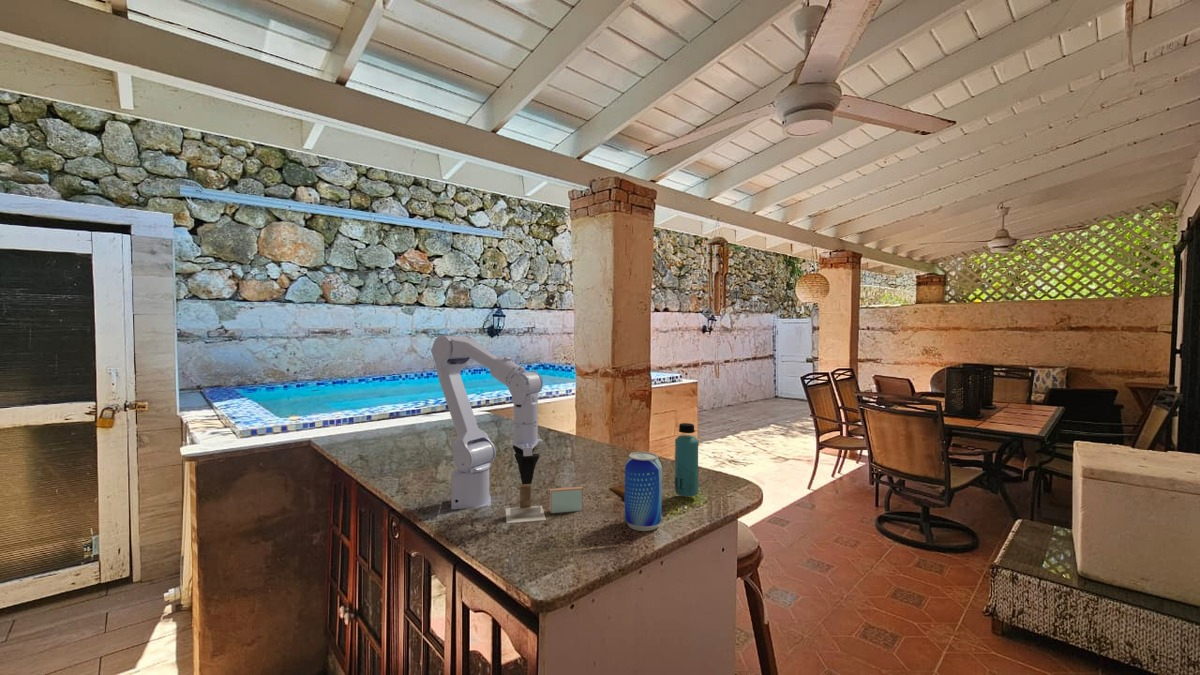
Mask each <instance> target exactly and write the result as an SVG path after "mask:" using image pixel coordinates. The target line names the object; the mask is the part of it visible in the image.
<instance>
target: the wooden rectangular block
mask: <svg viewBox="0 0 1200 675" xmlns="http://www.w3.org/2000/svg"><path fill="white" fill-rule="evenodd" d="M531 485H532V484H522V482H521V483H519V507H520V508H518V507H511V508H512V509H510V517H511V518H522V517H533V516H541V507H540V506H541V505H537V506H538V507H531V500H532V498H531V497H532V495H531V494H532V493H531V492H532V491H531V490H532V489H531V488H532V486H531Z"/></svg>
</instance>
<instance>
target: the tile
mask: <svg viewBox="0 0 1200 675" xmlns="http://www.w3.org/2000/svg"><path fill="white" fill-rule="evenodd" d="M583 510H584V487H583V486H574V487H573V486H572V487H559V488H549V513H550V514H556V513H559V514H560V513H569V512H570V513H571V512H581V511H583Z"/></svg>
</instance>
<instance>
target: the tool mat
mask: <svg viewBox="0 0 1200 675" xmlns="http://www.w3.org/2000/svg"><path fill="white" fill-rule="evenodd" d="M538 506H540V507H541V516H533V517H522V518H511V517H510V509H512V508H513V507H507V508H505V521H506V524H513V523H524V522H536V521H537V522H538V521H546V520H547V518H546V514H545V511H544V509H543V506H542V505H533V506H531V507H538ZM517 508H520V506H519V507H517Z"/></svg>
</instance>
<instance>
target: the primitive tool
mask: <svg viewBox="0 0 1200 675" xmlns="http://www.w3.org/2000/svg"><path fill="white" fill-rule="evenodd" d="M608 490H610V491H611V492H613V491H614V493H615V492H616V494H618V495H619V496H620V495H621V496H620V497H622V498H624V499H625V484H620V485H618V486H611V487H609V488H608Z"/></svg>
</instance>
